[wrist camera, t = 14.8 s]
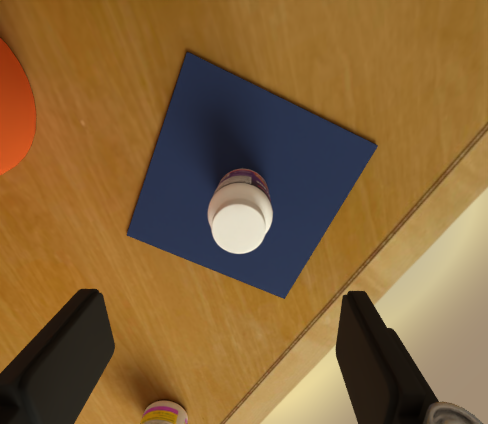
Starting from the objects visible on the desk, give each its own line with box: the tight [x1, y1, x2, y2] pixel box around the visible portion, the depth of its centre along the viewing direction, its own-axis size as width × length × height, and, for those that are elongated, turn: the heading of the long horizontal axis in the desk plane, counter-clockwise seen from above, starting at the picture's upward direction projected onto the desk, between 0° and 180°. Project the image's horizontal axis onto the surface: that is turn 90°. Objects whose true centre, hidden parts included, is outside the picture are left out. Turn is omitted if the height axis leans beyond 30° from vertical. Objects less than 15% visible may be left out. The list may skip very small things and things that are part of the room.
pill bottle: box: [208, 169, 273, 254], centre depth 25 cm, size 5×5×10 cm
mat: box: [127, 52, 378, 299], centre depth 29 cm, size 20×20×1 cm
